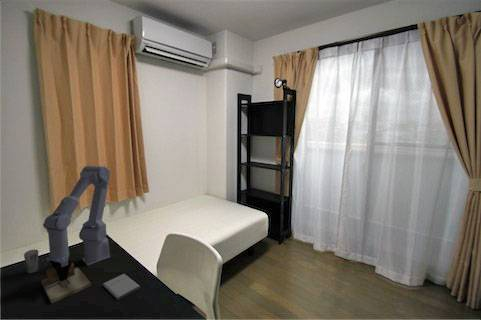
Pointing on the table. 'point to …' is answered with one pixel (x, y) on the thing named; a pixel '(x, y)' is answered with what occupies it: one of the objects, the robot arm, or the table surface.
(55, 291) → the board
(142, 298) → the table surface
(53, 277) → the block
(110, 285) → the external hard drive
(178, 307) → the table surface
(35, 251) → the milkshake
